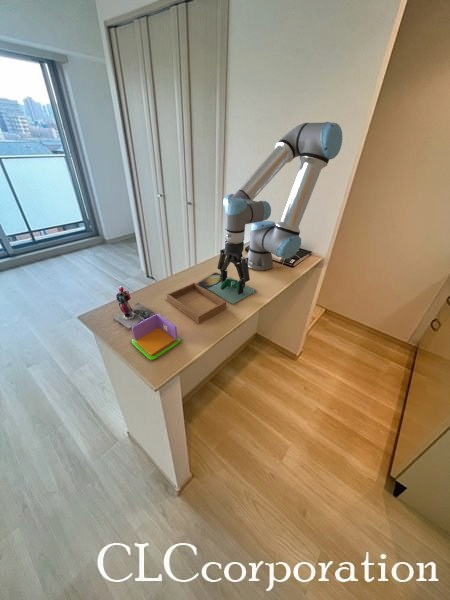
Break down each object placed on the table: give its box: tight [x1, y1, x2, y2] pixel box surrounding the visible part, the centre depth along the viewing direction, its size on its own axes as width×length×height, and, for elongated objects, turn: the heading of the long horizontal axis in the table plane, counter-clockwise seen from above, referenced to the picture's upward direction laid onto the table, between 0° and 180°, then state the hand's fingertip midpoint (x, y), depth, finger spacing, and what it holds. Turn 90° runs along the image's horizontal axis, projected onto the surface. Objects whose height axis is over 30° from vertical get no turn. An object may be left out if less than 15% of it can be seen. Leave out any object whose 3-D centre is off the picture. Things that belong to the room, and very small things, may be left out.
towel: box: [207, 277, 257, 305], centre depth 107 cm, size 15×16×1 cm
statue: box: [113, 285, 155, 331], centre depth 85 cm, size 11×9×15 cm
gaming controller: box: [221, 277, 240, 293], centre depth 106 cm, size 9×4×6 cm
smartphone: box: [196, 272, 222, 291], centre depth 114 cm, size 7×1×15 cm
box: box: [166, 282, 227, 324], centre depth 97 cm, size 14×20×3 cm
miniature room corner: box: [131, 313, 181, 361], centre depth 77 cm, size 12×12×7 cm
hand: (232, 288), depth 107 cm, fingers closed on gaming controller, 9 cm apart
